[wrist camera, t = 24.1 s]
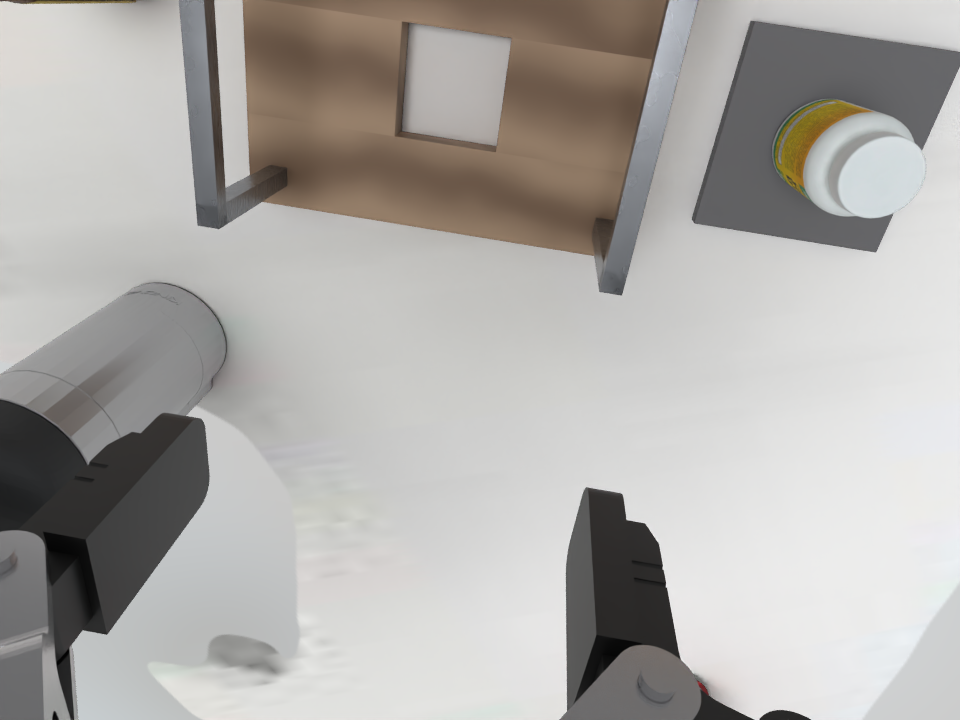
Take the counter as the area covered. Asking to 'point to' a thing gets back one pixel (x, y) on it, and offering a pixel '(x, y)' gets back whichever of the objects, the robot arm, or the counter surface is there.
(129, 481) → the robot arm
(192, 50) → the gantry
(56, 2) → the sauce bottle
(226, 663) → the counter surface
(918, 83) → the mat
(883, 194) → the supplement bottle
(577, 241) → the well board
